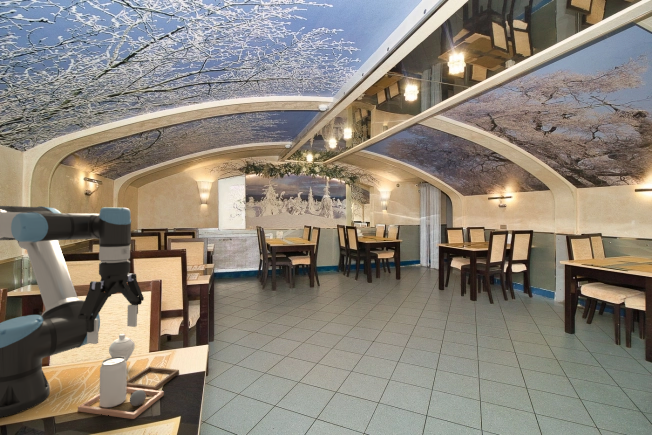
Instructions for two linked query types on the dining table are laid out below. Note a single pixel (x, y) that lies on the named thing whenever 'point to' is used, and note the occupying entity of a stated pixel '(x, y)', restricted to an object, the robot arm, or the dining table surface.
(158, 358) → the dining table surface
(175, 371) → the brown square frame
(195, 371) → the dining table surface
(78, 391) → the dining table surface
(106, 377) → the can
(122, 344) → the spinning top
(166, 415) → the dining table surface
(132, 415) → the open picture frame
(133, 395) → the ball
